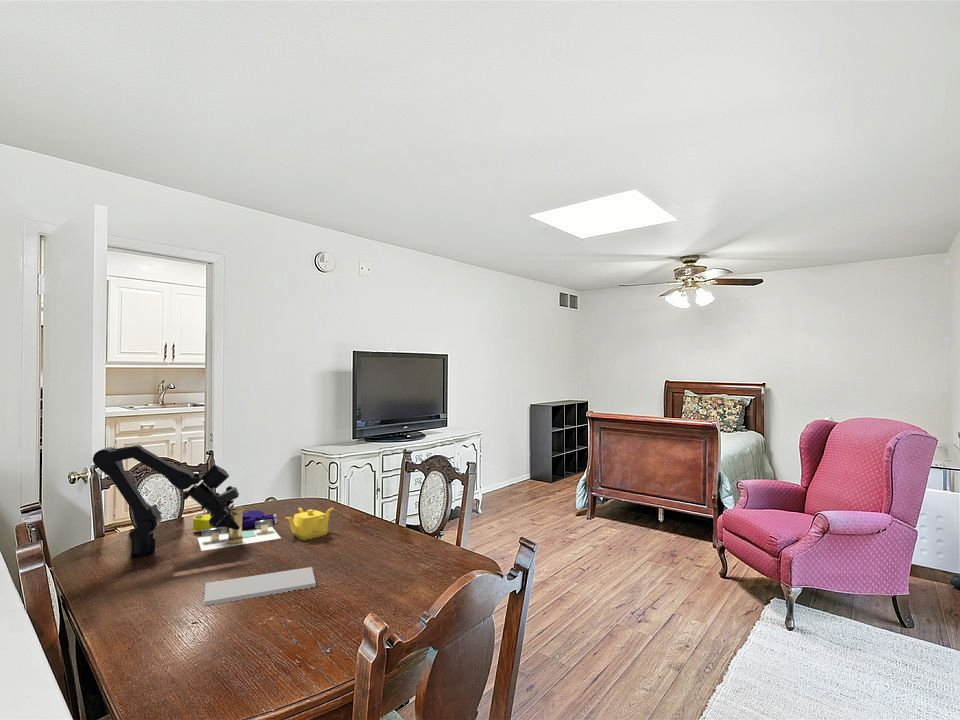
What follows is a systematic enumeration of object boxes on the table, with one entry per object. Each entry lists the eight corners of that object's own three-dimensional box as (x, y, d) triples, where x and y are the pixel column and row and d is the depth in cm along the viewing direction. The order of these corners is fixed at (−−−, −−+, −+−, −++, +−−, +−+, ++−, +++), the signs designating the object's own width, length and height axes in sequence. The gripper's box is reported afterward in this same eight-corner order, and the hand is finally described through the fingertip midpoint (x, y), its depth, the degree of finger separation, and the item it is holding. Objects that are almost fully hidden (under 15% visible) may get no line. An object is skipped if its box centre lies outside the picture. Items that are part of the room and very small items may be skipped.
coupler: (228, 545, 181) (229, 511, 181) (226, 541, 185) (227, 507, 185) (243, 542, 183) (244, 509, 184) (241, 538, 187) (242, 506, 188)
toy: (273, 525, 214) (191, 529, 199) (275, 508, 214) (194, 510, 200) (277, 532, 203) (191, 537, 189) (279, 514, 204) (193, 517, 190)
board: (201, 554, 175) (201, 550, 175) (197, 541, 188) (197, 537, 188) (281, 541, 189) (281, 537, 189) (271, 529, 202) (272, 526, 202)
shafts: (202, 543, 182) (202, 531, 182) (201, 539, 186) (201, 527, 186) (273, 532, 195) (273, 521, 195) (270, 528, 200) (270, 517, 200)
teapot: (333, 529, 204) (333, 505, 204) (323, 541, 190) (324, 515, 190) (296, 529, 204) (297, 505, 204) (284, 541, 189) (284, 515, 190)
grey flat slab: (204, 608, 137) (204, 594, 137) (205, 590, 148) (205, 578, 148) (316, 588, 150) (316, 576, 150) (309, 574, 161) (309, 562, 161)
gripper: (220, 486, 174) (255, 516, 178) (228, 475, 192) (259, 503, 195) (194, 511, 172) (229, 541, 175) (204, 498, 189) (235, 525, 193)
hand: (239, 526), depth 185 cm, fingers open, 5 cm apart
